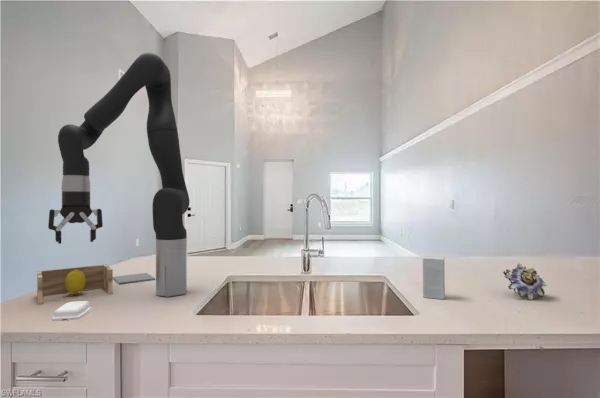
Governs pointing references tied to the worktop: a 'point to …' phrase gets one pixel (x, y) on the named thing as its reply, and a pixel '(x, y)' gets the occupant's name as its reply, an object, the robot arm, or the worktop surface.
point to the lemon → (75, 281)
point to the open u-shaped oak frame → (55, 279)
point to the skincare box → (433, 277)
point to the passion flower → (525, 281)
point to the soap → (72, 311)
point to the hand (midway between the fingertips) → (76, 242)
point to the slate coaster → (133, 278)
